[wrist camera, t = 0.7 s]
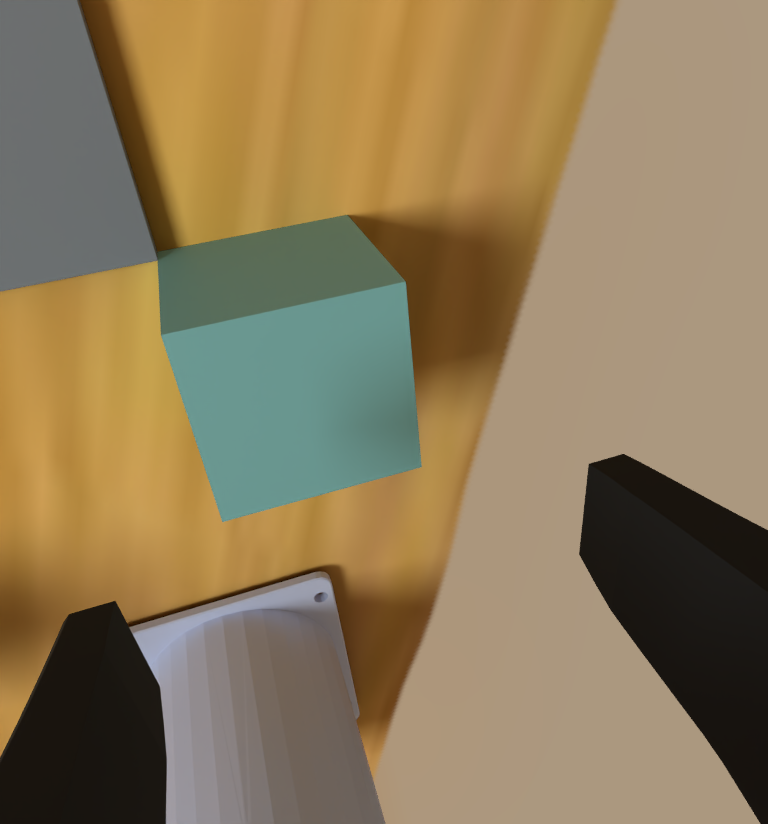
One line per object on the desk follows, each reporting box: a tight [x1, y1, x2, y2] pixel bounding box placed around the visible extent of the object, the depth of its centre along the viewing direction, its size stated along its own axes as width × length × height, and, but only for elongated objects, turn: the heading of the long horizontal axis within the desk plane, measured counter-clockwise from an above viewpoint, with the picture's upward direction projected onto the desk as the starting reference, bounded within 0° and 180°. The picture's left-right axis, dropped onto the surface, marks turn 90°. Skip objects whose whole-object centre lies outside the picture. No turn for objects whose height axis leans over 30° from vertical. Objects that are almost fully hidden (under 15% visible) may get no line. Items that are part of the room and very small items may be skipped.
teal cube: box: [157, 215, 421, 522], centre depth 17 cm, size 5×5×5 cm
